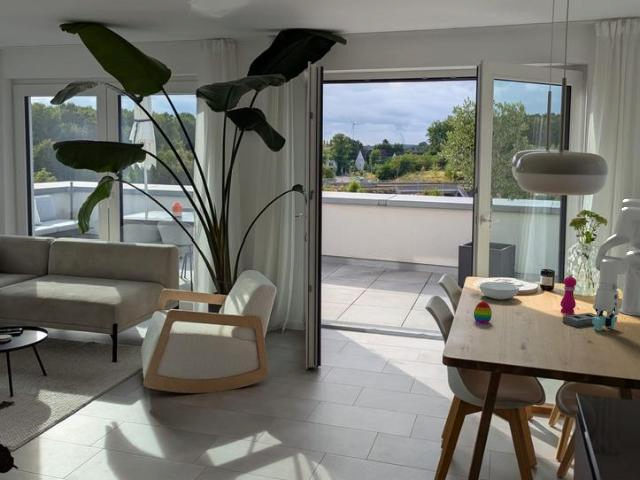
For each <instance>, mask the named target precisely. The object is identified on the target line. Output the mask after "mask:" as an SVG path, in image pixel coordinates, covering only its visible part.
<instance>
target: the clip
mask: <svg viewBox="0 0 640 480" xmlns="http://www.w3.org/2000/svg"><path fill="white" fill-rule="evenodd" d="M606 318H607V314H606V315H604V316H598V317H592V323H593V324H592V325H593V330H595V331H599V332H602V331H603V325H604V326H605V323H606ZM617 322H618V315H616V316H614V317H613V318H612V322H611V326H609V327H606V328H607V329H611V330H612V329H615V323H617Z"/></svg>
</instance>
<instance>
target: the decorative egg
mask: <svg viewBox="0 0 640 480" xmlns="http://www.w3.org/2000/svg"><path fill="white" fill-rule="evenodd" d="M492 315H493V313H492V308H491V306H490V304H489V303H488V302H486V301H484V300H482V301H480V302H478V303H477V304H476V306H475V308H474V311H473V317H474V320H475V322H476V323H478V322H479V323H478V324H483V323H485V324H489V322H490V321H491V319H492Z"/></svg>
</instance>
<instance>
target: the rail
mask: <svg viewBox="0 0 640 480" xmlns="http://www.w3.org/2000/svg"><path fill="white" fill-rule="evenodd" d="M592 317H598V315H597V313H593V312H585V313H579V314H568V315H563V316H562V323H563V324H566V325H570V326H572V327H575V328H576V327H577V328H578V327H585V326H590V325H591V326H592V325H594V324H593V323H592Z"/></svg>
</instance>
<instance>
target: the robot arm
mask: <svg viewBox="0 0 640 480" xmlns="http://www.w3.org/2000/svg"><path fill="white" fill-rule="evenodd" d="M620 205H621V209H620V211H619V213H618V217H617V219H616V220H617V221H616V224H615V227H614V231H613V234H612V235H611V236H610V237H608V238H607V239H606V240H604V241H603V242H602V244H601V245H600V246H599V248H598V250H597V253H596V257H595V261H594V266H595V268H596V270H597V271H599V279H598V287H597V289H596V293H595V296H594V304H593V305H592V308H593V310H595V312H596V315H598V316H605V315H604V313H605V312H606V315H607V318H606V323H605V324H604V326H605V328H607V327H609V326H611V322H612V318H613V317H614V316H619V315H620V313H621V314H624V315H629V316H639V317H640V198H639V199H637V198H625V199H623V200H622V202H621V204H620ZM625 244H628V245H629V247H630V248H631V249H634V250H630V251H627V252H626V254H625V255H624V258H623V257H619V256H612V255H611V256H610V255H606V254H607V253H608V251H610V250H611V249H612V248H615V247H618V246H622V245H625ZM619 275H624V278H623V279H624V280H623V288H622V289H623V291H622V299H621V300H622V301H621V307H620V306H619V305H620V299H619V297H620V296H619V291H618V290H619V286H618V278H619Z"/></svg>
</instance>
